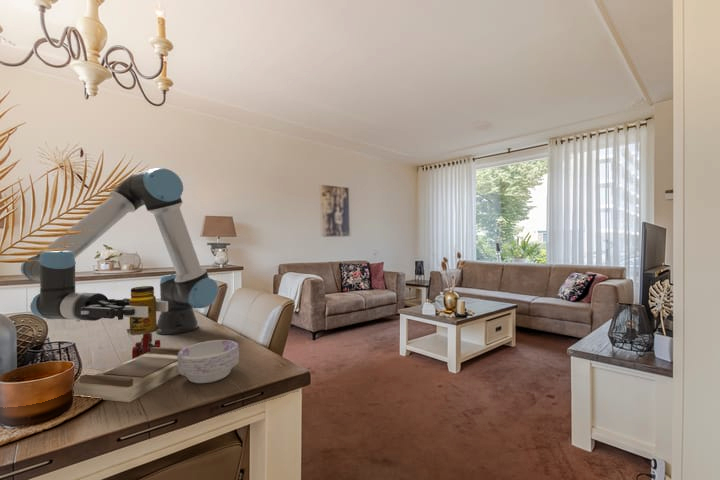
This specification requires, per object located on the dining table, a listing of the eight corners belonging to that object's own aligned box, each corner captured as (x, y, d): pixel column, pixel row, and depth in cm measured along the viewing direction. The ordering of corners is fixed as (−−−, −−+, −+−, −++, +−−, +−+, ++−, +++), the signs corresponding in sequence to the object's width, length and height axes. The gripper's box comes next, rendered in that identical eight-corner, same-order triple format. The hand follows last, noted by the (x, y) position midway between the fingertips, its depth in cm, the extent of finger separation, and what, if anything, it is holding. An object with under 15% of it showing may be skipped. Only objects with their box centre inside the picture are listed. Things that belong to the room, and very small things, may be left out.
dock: (152, 360, 104) (152, 345, 104) (198, 363, 101) (198, 348, 101) (72, 396, 81) (72, 377, 80) (129, 402, 77) (128, 382, 77)
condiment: (128, 337, 86) (127, 290, 86) (126, 330, 92) (125, 286, 92) (161, 331, 90) (160, 287, 90) (157, 325, 97) (156, 283, 97)
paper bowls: (169, 377, 91) (169, 348, 91) (224, 361, 102) (224, 335, 102) (190, 395, 81) (189, 362, 81) (249, 375, 92) (248, 346, 91)
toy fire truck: (130, 364, 101) (130, 330, 101) (137, 352, 112) (136, 320, 112) (157, 360, 104) (157, 327, 104) (161, 348, 115) (160, 318, 115)
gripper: (117, 312, 103) (183, 314, 99) (49, 329, 85) (126, 333, 80) (116, 288, 103) (182, 289, 99) (48, 299, 85) (125, 302, 80)
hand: (157, 309), depth 89 cm, fingers closed on condiment, 6 cm apart
